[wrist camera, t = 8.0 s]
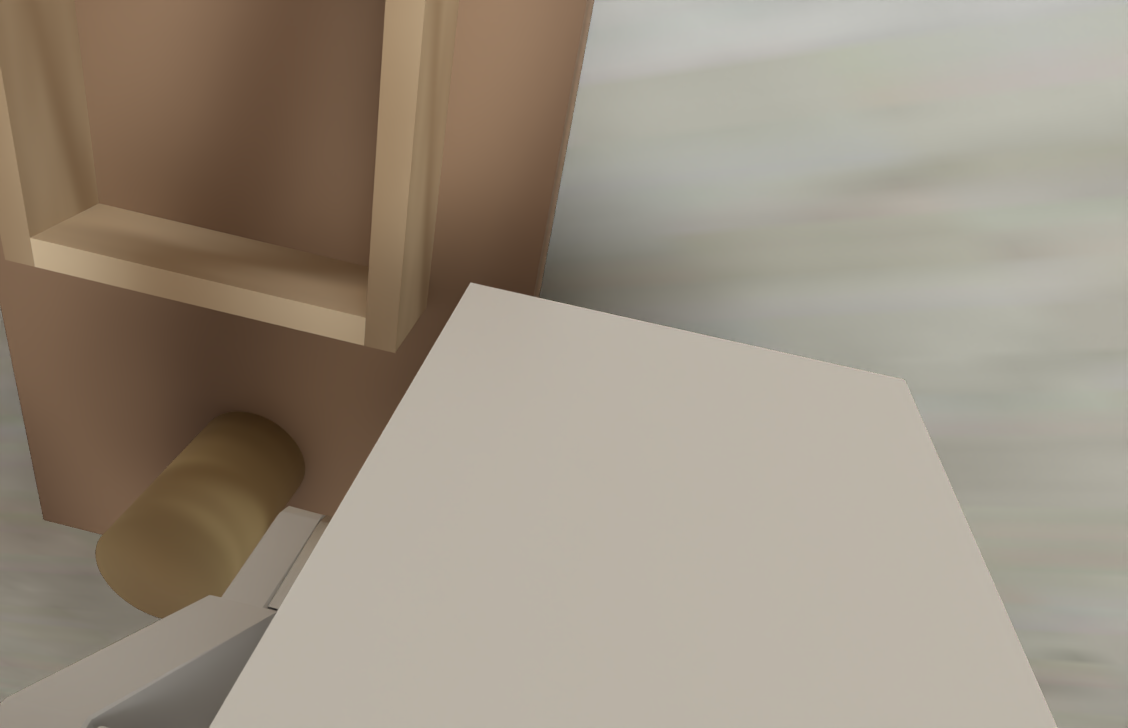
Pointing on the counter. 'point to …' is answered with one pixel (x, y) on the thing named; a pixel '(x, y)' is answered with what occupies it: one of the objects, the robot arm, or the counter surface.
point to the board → (254, 245)
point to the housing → (640, 548)
